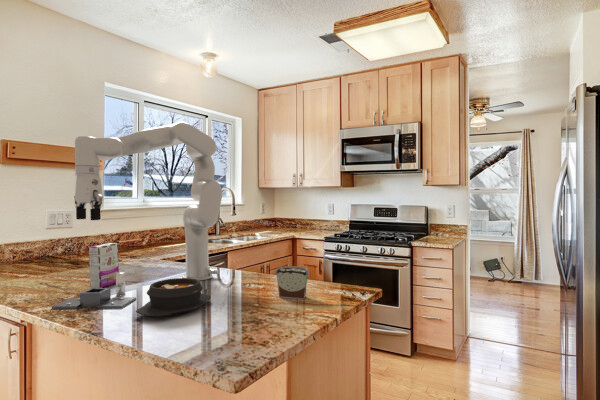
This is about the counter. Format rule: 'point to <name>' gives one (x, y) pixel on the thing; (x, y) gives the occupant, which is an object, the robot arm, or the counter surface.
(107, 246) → the candy bar box
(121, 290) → the pin
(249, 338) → the counter surface
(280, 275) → the food container
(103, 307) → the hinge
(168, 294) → the casserole
